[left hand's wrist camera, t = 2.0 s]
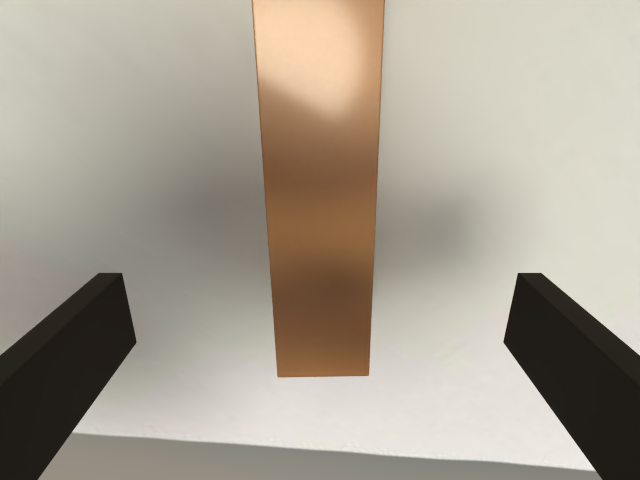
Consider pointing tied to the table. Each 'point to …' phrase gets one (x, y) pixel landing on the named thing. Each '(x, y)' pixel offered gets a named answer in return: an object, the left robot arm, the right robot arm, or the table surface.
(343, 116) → the post
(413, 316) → the table surface
